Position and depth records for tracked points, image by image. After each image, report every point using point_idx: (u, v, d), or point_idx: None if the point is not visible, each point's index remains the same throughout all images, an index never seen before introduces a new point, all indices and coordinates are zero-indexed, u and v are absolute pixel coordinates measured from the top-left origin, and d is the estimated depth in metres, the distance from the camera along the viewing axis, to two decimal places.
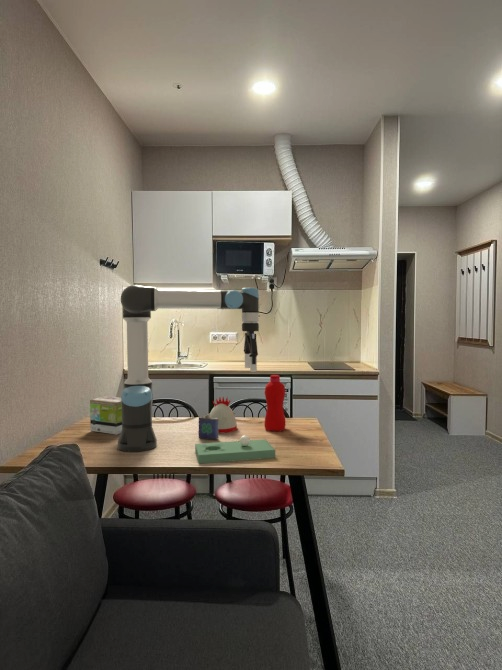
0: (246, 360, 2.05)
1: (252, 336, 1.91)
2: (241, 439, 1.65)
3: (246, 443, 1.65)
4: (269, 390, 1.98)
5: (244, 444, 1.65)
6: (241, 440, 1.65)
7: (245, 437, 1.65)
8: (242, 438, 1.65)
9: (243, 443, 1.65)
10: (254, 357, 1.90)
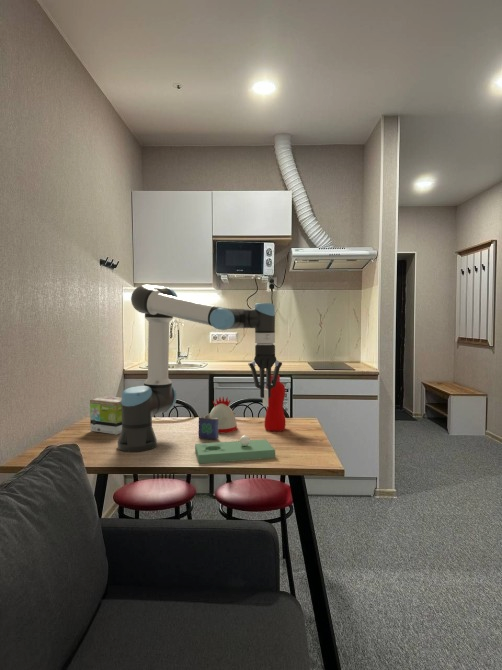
0: None
1: None
2: (241, 439, 1.65)
3: (246, 443, 1.65)
4: None
5: (244, 444, 1.65)
6: (241, 440, 1.65)
7: (245, 437, 1.65)
8: (242, 438, 1.65)
9: (243, 443, 1.65)
10: (260, 389, 1.67)
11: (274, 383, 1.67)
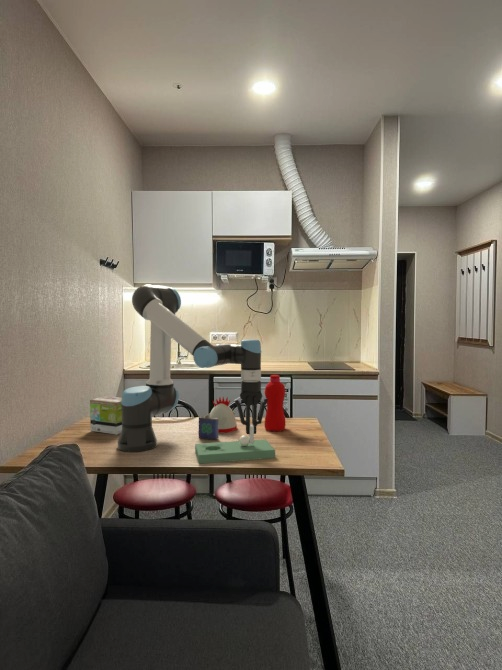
0: None
1: None
2: (240, 439, 1.65)
3: (246, 443, 1.65)
4: (269, 390, 1.98)
5: (244, 444, 1.65)
6: (240, 440, 1.65)
7: (244, 437, 1.65)
8: (241, 438, 1.65)
9: (243, 443, 1.65)
10: (246, 426, 1.67)
11: (260, 419, 1.67)
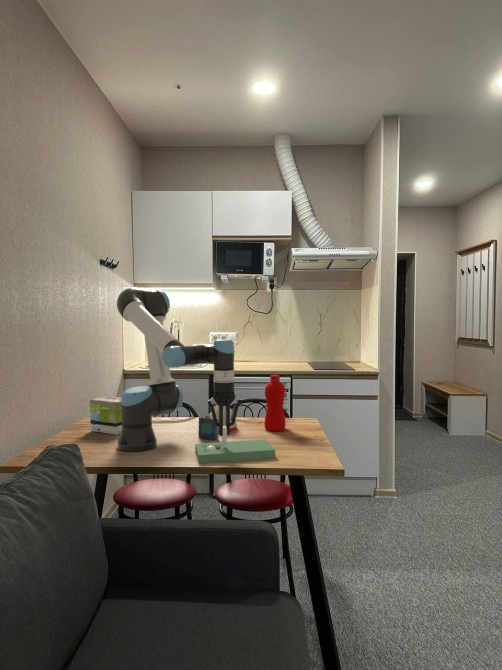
0: None
1: None
2: None
3: None
4: (269, 390, 1.98)
5: None
6: None
7: (209, 448, 1.63)
8: None
9: None
10: (219, 427, 1.64)
11: (233, 421, 1.64)
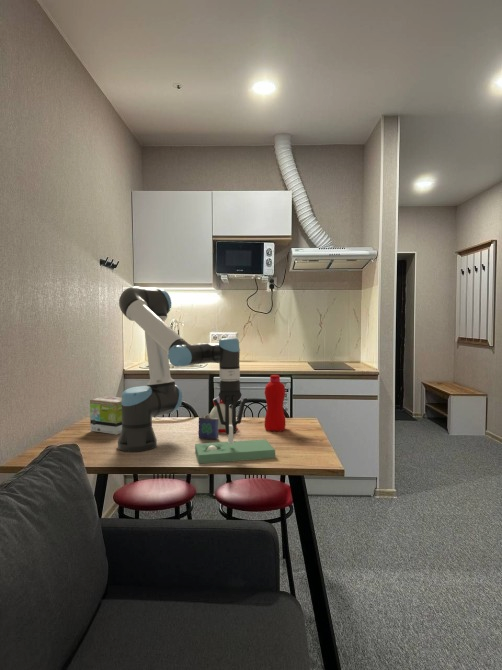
0: None
1: (214, 402, 1.64)
2: None
3: None
4: (269, 390, 1.98)
5: None
6: None
7: (211, 448, 1.63)
8: None
9: None
10: (225, 426, 1.64)
11: (239, 419, 1.64)
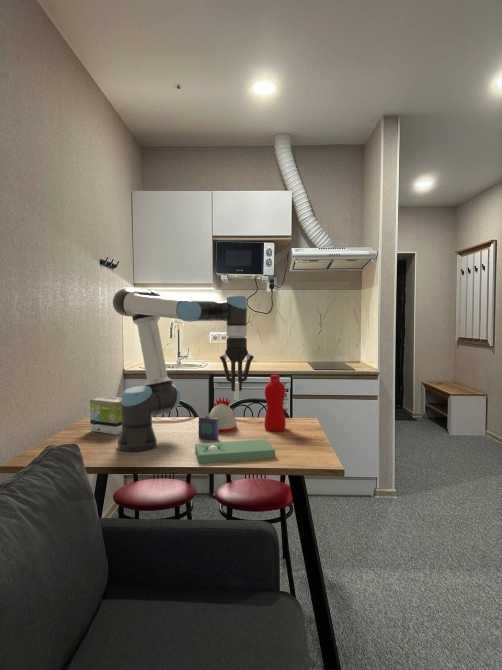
0: None
1: None
2: None
3: None
4: (269, 390, 1.98)
5: None
6: None
7: (212, 447, 1.63)
8: (209, 449, 1.63)
9: None
10: (231, 383, 1.66)
11: (245, 376, 1.66)
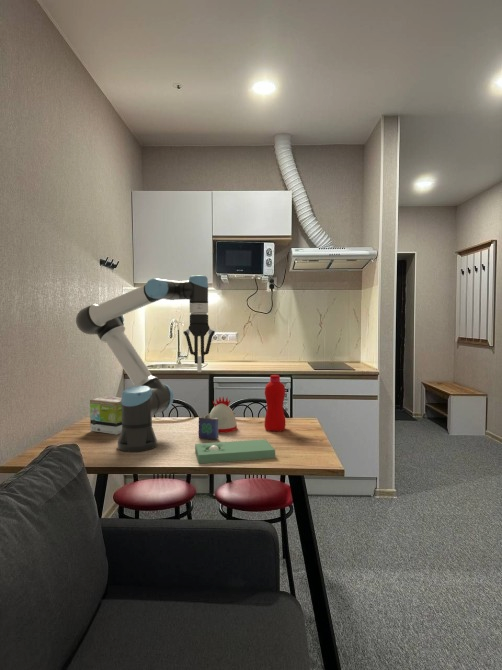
0: None
1: (184, 334, 1.79)
2: (210, 449, 1.63)
3: None
4: (269, 390, 1.98)
5: None
6: (210, 450, 1.63)
7: (214, 447, 1.63)
8: (211, 448, 1.63)
9: None
10: None
11: (207, 350, 1.80)
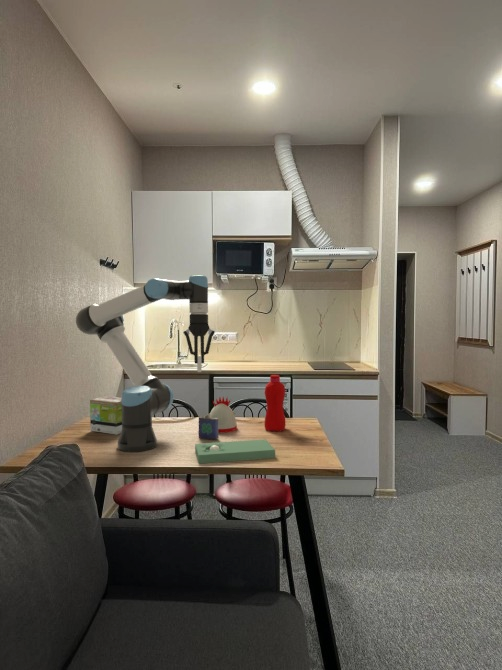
0: None
1: (184, 334, 1.79)
2: (211, 449, 1.63)
3: None
4: (269, 390, 1.98)
5: None
6: (211, 450, 1.63)
7: (215, 447, 1.63)
8: (212, 448, 1.63)
9: None
10: (194, 356, 1.80)
11: (207, 350, 1.80)
